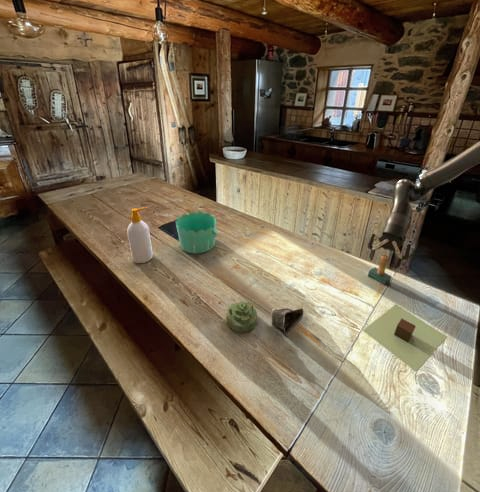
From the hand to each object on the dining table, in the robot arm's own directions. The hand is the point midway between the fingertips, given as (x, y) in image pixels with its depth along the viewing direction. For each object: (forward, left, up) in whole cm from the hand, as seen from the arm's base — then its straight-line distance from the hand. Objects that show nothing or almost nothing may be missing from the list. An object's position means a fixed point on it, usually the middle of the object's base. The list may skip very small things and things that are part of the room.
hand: (383, 264), depth 102 cm
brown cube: (+18, +19, -7) cm, 27 cm away
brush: (-1, 0, -8) cm, 8 cm away
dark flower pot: (+44, -6, -8) cm, 45 cm away
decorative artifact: (+56, -14, -8) cm, 59 cm away
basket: (+48, -63, -8) cm, 80 cm away
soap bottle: (+73, -66, -8) cm, 99 cm away
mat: (+17, +19, -8) cm, 27 cm away
